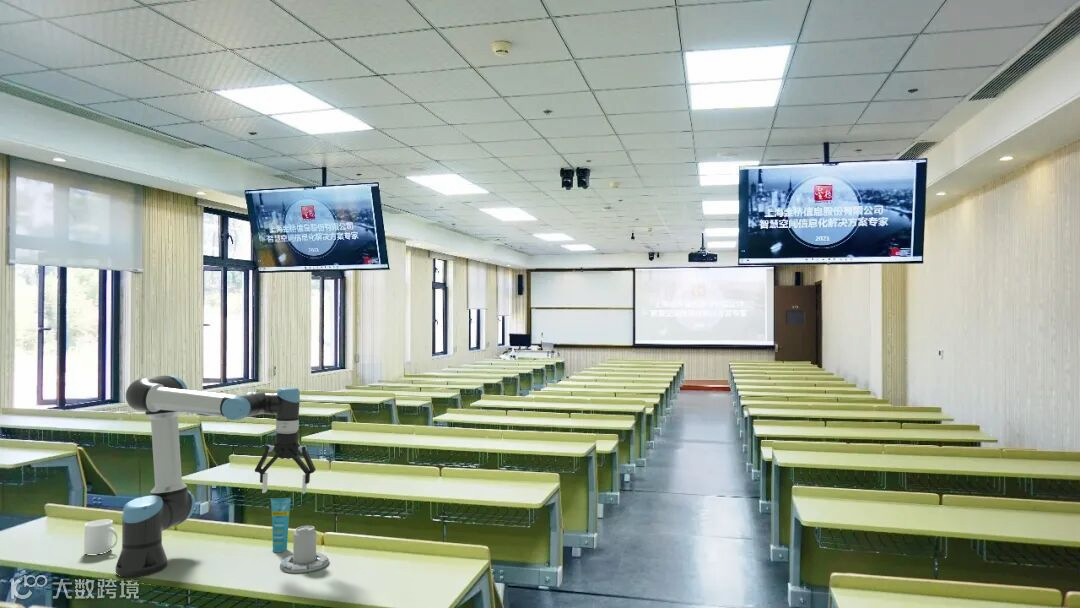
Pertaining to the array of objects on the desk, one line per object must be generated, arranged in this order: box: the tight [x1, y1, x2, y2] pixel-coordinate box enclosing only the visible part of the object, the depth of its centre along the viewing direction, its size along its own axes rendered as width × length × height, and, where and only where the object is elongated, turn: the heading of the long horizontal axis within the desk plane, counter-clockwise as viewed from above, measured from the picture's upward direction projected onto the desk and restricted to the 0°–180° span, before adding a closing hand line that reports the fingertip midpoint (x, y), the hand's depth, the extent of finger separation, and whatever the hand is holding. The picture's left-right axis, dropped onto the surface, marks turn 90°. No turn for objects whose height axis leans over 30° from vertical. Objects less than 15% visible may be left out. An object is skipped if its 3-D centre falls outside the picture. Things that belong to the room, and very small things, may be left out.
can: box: [292, 525, 317, 564], centre depth 233 cm, size 8×8×12 cm
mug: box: [83, 518, 118, 554], centre depth 245 cm, size 9×12×11 cm
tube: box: [270, 497, 292, 553], centre depth 248 cm, size 7×5×19 cm, turn 98°
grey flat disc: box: [279, 551, 330, 575], centre depth 232 cm, size 16×16×2 cm
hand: (284, 492), depth 236 cm, fingers open, 13 cm apart
